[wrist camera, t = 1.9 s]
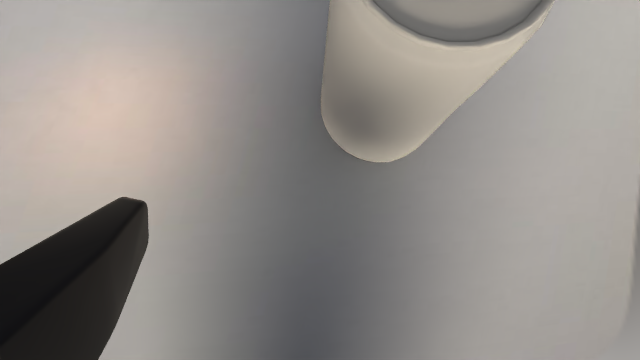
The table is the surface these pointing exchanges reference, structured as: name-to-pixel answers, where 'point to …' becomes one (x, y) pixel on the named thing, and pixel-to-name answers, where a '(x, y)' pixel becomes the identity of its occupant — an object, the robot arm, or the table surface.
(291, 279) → the table surface
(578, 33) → the table surface
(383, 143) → the beverage can
